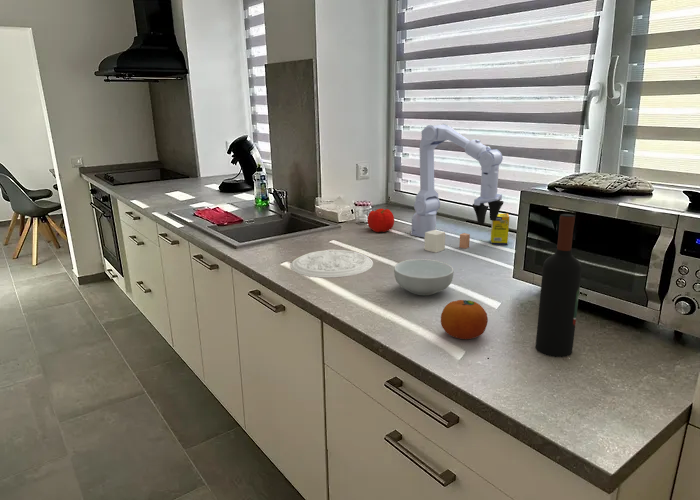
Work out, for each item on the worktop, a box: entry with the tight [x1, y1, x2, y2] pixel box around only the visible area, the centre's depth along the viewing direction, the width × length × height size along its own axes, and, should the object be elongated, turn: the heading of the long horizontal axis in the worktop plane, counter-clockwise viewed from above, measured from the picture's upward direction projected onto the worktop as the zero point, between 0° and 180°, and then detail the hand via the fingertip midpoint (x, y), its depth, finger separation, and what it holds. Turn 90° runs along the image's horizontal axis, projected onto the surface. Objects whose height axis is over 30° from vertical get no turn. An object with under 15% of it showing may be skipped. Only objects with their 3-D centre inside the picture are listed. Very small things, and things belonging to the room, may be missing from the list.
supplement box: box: [490, 213, 510, 246], centre depth 191 cm, size 6×6×11 cm
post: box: [458, 232, 471, 250], centre depth 187 cm, size 3×3×5 cm
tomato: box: [367, 208, 395, 233], centre depth 212 cm, size 11×12×9 cm
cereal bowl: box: [393, 258, 455, 296], centre depth 145 cm, size 17×17×7 cm
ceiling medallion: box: [290, 248, 374, 279], centre depth 171 cm, size 28×28×3 cm
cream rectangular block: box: [424, 230, 446, 254], centre depth 184 cm, size 5×5×7 cm
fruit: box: [440, 299, 489, 340], centre depth 117 cm, size 11×10×8 cm
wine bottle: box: [535, 213, 582, 358], centre depth 106 cm, size 8×8×30 cm
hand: (487, 222), depth 182 cm, fingers open, 7 cm apart
